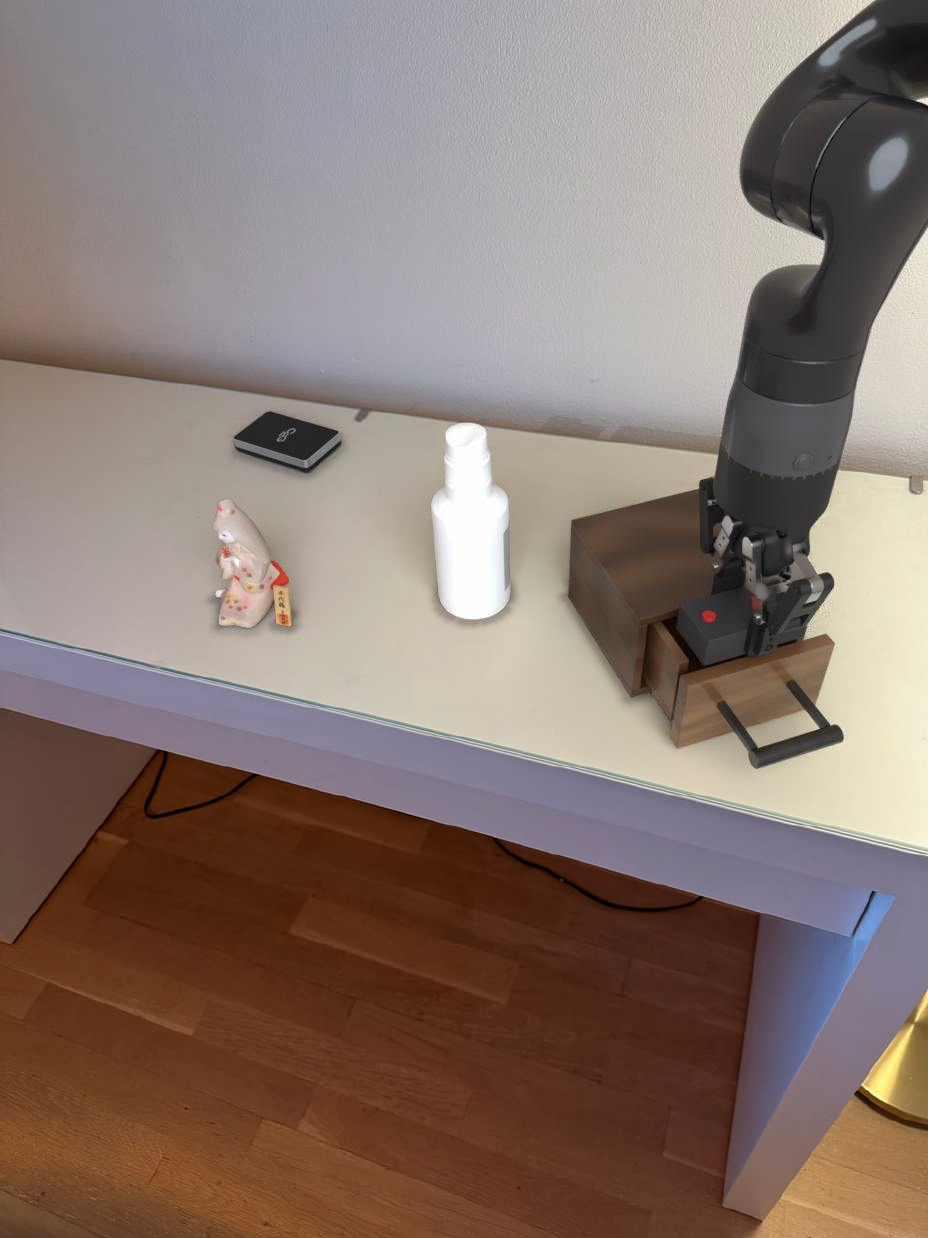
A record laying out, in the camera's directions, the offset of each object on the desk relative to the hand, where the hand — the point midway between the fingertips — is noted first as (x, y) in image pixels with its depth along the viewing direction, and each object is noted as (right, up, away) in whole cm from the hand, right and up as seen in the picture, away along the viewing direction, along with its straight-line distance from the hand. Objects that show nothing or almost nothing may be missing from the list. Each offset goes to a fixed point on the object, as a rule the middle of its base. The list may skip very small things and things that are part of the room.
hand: (740, 629), depth 71 cm
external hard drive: (-41, +20, +37) cm, 59 cm away
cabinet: (-3, 0, +13) cm, 13 cm away
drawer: (0, -6, +5) cm, 8 cm away
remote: (0, 0, 0) cm, 0 cm away
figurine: (-41, +2, +18) cm, 45 cm away
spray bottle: (-20, +3, +17) cm, 27 cm away
